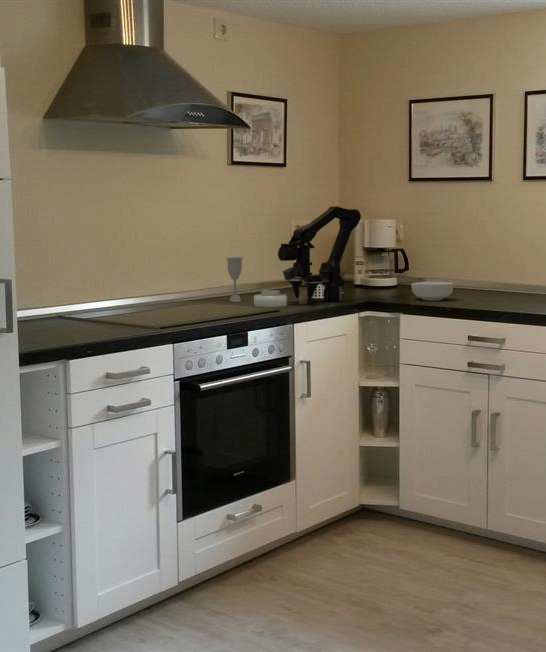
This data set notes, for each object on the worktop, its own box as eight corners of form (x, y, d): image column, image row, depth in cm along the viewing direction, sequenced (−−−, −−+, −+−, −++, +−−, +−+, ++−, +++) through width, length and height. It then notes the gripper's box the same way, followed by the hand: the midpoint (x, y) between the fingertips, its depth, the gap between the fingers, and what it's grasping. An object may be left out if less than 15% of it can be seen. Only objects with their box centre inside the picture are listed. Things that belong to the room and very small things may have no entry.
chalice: (241, 301, 395) (240, 257, 393) (225, 301, 396) (224, 258, 394) (245, 300, 402) (244, 257, 400) (229, 299, 403) (228, 257, 401)
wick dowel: (307, 303, 386) (307, 284, 385) (305, 304, 383) (305, 285, 382) (300, 303, 387) (300, 284, 386) (298, 303, 384) (298, 285, 383)
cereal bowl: (457, 298, 398) (457, 281, 397) (447, 302, 383) (447, 284, 382) (417, 297, 405) (418, 280, 405) (406, 301, 390) (406, 283, 390)
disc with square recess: (291, 304, 382) (291, 289, 381) (280, 307, 370) (280, 292, 369) (260, 303, 386) (260, 289, 385) (249, 306, 374) (249, 292, 373)
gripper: (273, 259, 387) (274, 298, 389) (298, 261, 371) (298, 302, 373) (297, 258, 392) (297, 296, 394) (322, 260, 376) (322, 300, 378)
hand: (303, 298), depth 385 cm, fingers open, 9 cm apart
